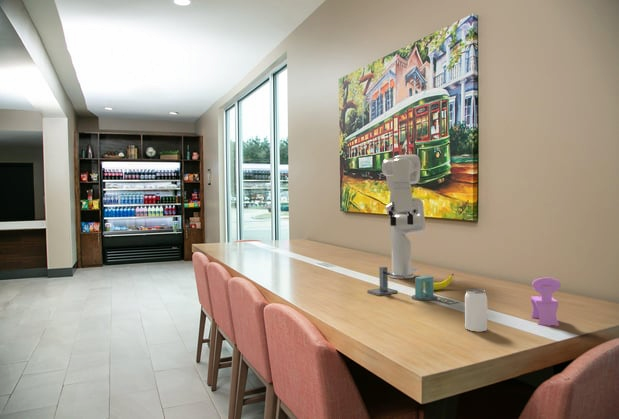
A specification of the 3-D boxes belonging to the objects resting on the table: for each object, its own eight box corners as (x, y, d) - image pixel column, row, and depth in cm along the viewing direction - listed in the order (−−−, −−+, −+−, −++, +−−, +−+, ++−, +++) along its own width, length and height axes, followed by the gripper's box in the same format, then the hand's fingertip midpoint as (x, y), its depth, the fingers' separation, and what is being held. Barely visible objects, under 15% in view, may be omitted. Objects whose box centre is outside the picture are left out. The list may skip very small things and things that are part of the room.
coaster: (424, 294, 186) (424, 293, 186) (442, 298, 177) (442, 297, 177) (406, 297, 181) (406, 296, 181) (423, 302, 172) (423, 301, 172)
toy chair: (554, 318, 148) (554, 273, 147) (563, 326, 139) (563, 278, 139) (527, 317, 150) (527, 273, 149) (534, 324, 141) (534, 278, 140)
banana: (415, 291, 191) (414, 277, 191) (451, 287, 198) (451, 273, 197) (419, 293, 188) (418, 278, 188) (455, 288, 195) (455, 274, 195)
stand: (385, 289, 196) (385, 264, 196) (413, 297, 180) (413, 270, 180) (367, 292, 191) (366, 266, 191) (394, 300, 176) (393, 272, 175)
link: (428, 295, 182) (428, 275, 182) (433, 296, 180) (433, 276, 179) (415, 297, 179) (415, 277, 179) (420, 298, 176) (420, 278, 176)
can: (461, 326, 141) (461, 289, 140) (481, 325, 141) (481, 288, 141) (470, 333, 134) (470, 293, 134) (491, 332, 135) (491, 292, 134)
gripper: (410, 186, 204) (411, 223, 205) (380, 187, 196) (381, 225, 196) (422, 186, 197) (422, 224, 198) (391, 186, 189) (391, 226, 190)
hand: (401, 225), depth 197 cm, fingers open, 9 cm apart
